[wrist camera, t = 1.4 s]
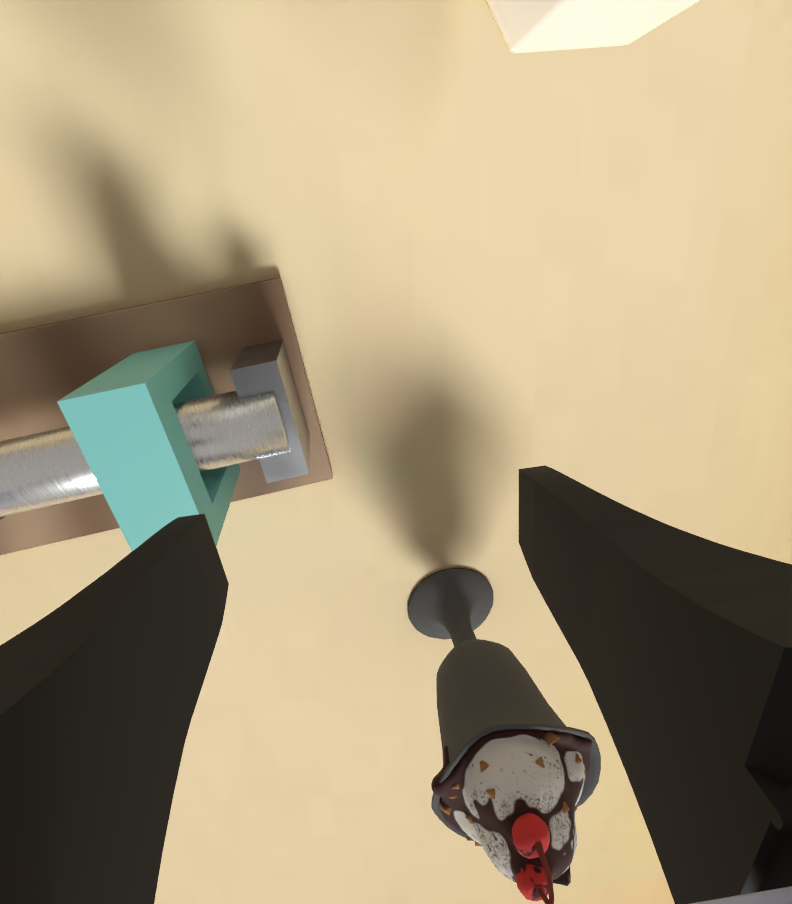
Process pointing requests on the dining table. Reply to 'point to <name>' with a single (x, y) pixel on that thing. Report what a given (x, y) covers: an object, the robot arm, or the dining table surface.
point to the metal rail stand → (204, 424)
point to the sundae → (501, 744)
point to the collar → (148, 442)
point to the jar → (579, 22)
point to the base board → (112, 340)
